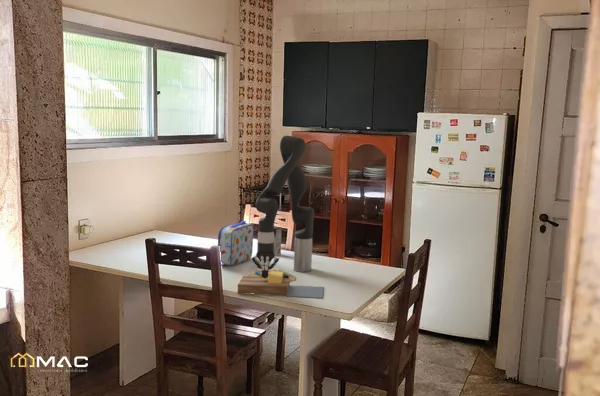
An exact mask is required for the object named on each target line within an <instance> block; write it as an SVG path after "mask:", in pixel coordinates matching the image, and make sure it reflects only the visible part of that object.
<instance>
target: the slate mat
mask: <svg viewBox="0 0 600 396" xmlns="http://www.w3.org/2000/svg"><path fill="white" fill-rule="evenodd" d="M324 288H325V286H315V285H314V286H313V285H311V286H310V285H293V284H292V285H291V284H290V286H289V289H288V293H287V296H285V297H287V298H302V299H303V298H305V299H307V298H308V299H324Z"/></svg>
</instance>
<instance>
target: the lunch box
mask: <svg viewBox="0 0 600 396" xmlns="http://www.w3.org/2000/svg"><path fill="white" fill-rule="evenodd" d="M254 230H255V229H254V225H253V224H251V223H248V222H247V221H246V220H241V221H239V222H236V223H233V224H228V225H225V226H223V227H221V228H220V229H219V231H218V236H217V247H218V246H220V252H221V262H222V265H223V264H224V265H227V266H236V265H239V264H241V263H243V262H245V261H247V260H250V259H252V257H253V247H254V245H253V244H254Z"/></svg>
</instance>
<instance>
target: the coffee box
mask: <svg viewBox="0 0 600 396" xmlns="http://www.w3.org/2000/svg"><path fill="white" fill-rule="evenodd" d="M282 229H283V228H282V226H281V227H280V226H275V225H274V254H275V257H277V256H281V254H282Z"/></svg>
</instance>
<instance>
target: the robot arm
mask: <svg viewBox="0 0 600 396" xmlns="http://www.w3.org/2000/svg"><path fill="white" fill-rule="evenodd" d="M305 150H306V140H304V138H302V137H297V136H293V135H284V136H282V137H281V139H280V141H279V151H280V154H281V158H282V161H283V164H282V166H280V167H279V168H278V169H276V170H275V171H274V172H273V173H272V175H271V177H270V179H269V181H268V183H267V186H265V188H264V189H263V190H262V192H261V193H260V194H259V196H258V197H257V198H256V201H255V209H256V210H257V211H258V212H259V213H264V214H265V216H264V217H261V218H260V219H259V220H258V228H257V229H258V231H257V232H258V233H257V238H256V239H257V250H256V251H257V252H256V254H255V255H254V256H252V257H251V260H252V262H253V264H254V265H255V266H256V268H257V269H258V270H260V271H262V277H263V278H267V277H268V270H273V268H274V267H275V265H277V263H278V262H279V261H280V257H277V256H275V254H274V226H275V221H276V217H277V214H278V210H279V203H278V201H277V200H276V198H274V197H278V196H280V194H281V193H282V191H283V189H284V187H285V185H286V182H287V188H288V193H289V197H290V198H289V199H290V209H291V217H292V218H291V219H292V222H293V224H295V225H301V226H302V225H304V226H305V227H304V228H303V229H300V230H296V231H295V232H294V243H293V244H294V246H293V247H294V249H293V250H294V252H293V255H294V256H293V270H294V271H295V272H300V273H307V272H308V273H309V272H311V271H312V266H313V265H312V264H313V263H312V260H313V259H312V258H313V236H314V235H313V233H314V220H315V210H314V208H313V207H311V206H300V203H299V202H300V200H301V199H302V197H303V196H304V195H305V193H306V191H307V185H308V184H307V177H306V175H305V173H304V171H303V169H302V168H301V166H300V164H298V163H299V161H300V159H301V158H302V156H303V155H304V153H305ZM271 262H273V263H271ZM270 263H271V264H270Z"/></svg>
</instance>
